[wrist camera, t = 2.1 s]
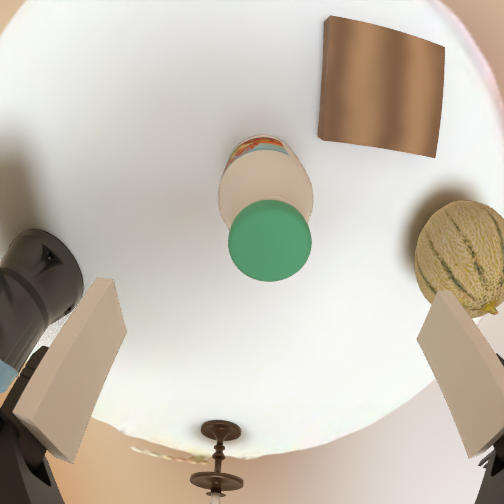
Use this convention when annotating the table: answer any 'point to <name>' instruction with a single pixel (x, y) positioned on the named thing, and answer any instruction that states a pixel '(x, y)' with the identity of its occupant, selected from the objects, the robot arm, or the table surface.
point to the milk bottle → (266, 208)
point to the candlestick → (218, 461)
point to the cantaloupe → (463, 256)
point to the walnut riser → (380, 87)
